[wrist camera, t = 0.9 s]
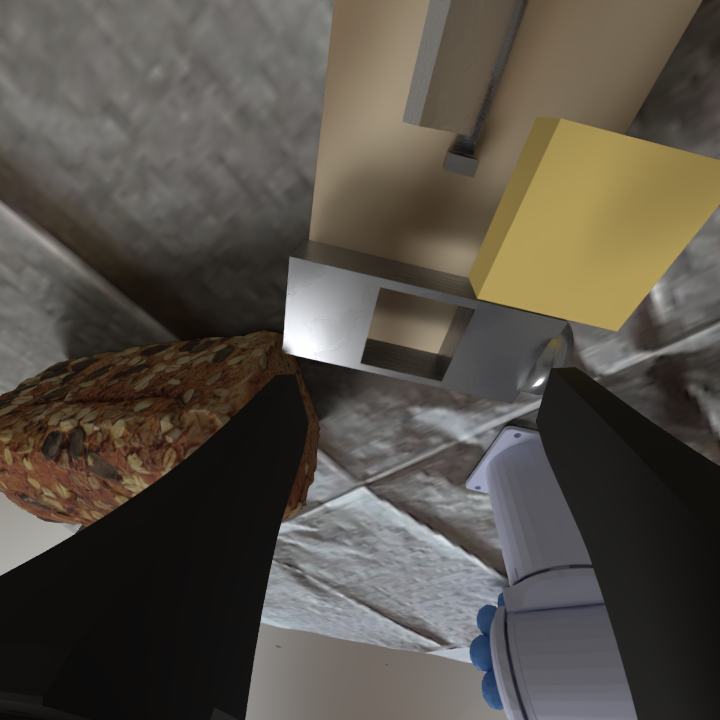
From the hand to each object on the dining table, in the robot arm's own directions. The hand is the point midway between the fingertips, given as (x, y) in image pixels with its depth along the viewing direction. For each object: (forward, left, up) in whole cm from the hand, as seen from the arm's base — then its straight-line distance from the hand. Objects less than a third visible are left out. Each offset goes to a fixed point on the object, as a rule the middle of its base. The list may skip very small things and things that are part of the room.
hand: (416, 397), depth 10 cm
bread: (+13, +14, -11) cm, 22 cm away
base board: (-1, -3, -10) cm, 11 cm away
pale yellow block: (-5, -4, -10) cm, 11 cm away
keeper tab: (+1, -8, -7) cm, 11 cm away
